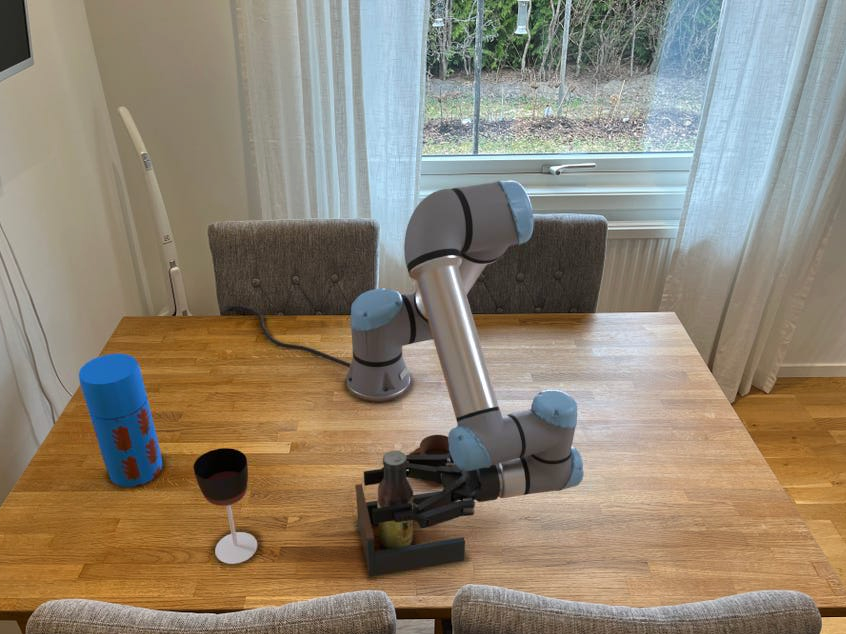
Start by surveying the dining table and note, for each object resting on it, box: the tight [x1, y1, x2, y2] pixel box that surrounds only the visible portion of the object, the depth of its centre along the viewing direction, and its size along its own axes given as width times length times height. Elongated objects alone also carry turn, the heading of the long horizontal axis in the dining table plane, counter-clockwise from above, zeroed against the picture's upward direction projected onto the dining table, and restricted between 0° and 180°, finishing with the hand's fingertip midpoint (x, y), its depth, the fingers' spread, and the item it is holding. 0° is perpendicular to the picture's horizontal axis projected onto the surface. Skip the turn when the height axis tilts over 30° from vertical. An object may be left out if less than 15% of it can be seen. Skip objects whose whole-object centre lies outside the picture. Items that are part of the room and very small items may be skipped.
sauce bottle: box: [377, 450, 414, 550], centre depth 125 cm, size 7×6×20 cm
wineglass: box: [193, 447, 258, 565], centre depth 124 cm, size 8×9×20 cm
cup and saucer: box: [408, 434, 450, 485], centre depth 145 cm, size 12×12×6 cm
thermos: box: [78, 353, 163, 488], centre depth 141 cm, size 11×11×25 cm
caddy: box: [354, 483, 466, 578], centre depth 128 cm, size 17×13×10 cm
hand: (368, 496), depth 123 cm, fingers open, 9 cm apart
